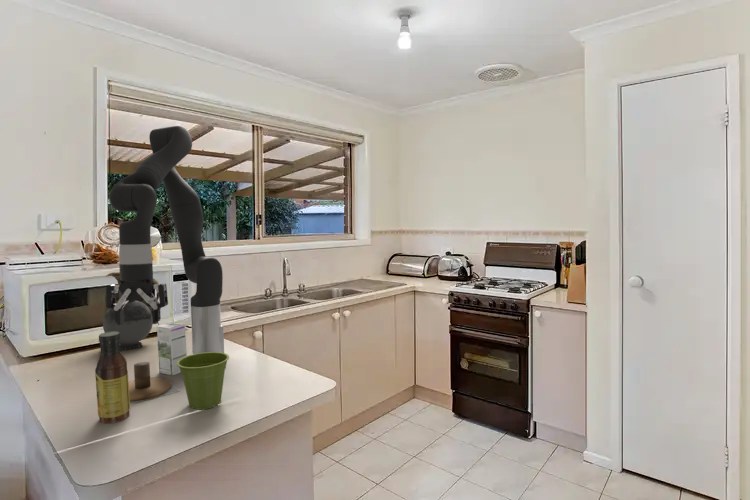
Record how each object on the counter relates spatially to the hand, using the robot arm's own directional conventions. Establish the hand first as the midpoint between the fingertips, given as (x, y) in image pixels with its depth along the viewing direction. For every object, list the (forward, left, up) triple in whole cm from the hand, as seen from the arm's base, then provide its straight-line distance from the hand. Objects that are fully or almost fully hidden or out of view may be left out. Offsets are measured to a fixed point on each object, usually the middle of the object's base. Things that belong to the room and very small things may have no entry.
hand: (138, 323), depth 113 cm
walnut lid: (0, 0, -18) cm, 18 cm away
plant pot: (-9, +19, -19) cm, 28 cm away
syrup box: (-11, -11, -19) cm, 24 cm away
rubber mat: (0, 0, -18) cm, 18 cm away
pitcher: (-10, -51, -19) cm, 55 cm away
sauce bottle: (+9, +13, -19) cm, 24 cm away
